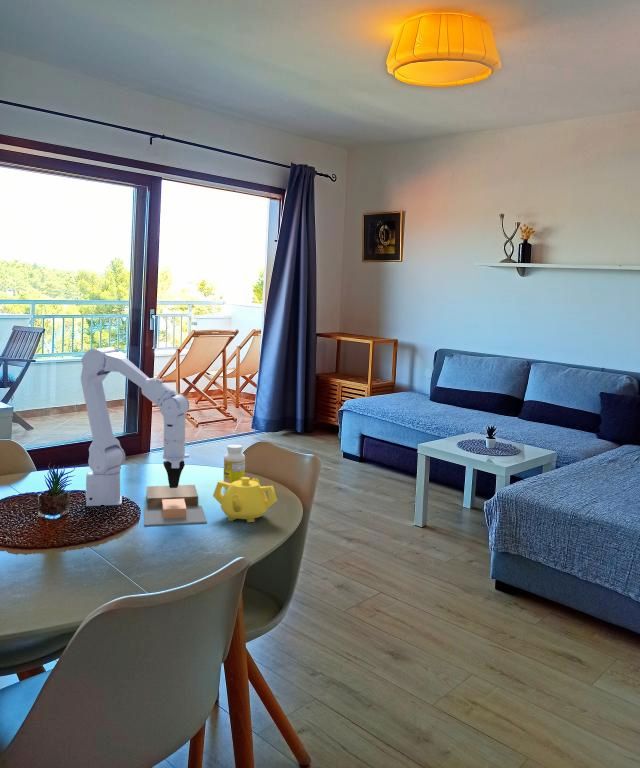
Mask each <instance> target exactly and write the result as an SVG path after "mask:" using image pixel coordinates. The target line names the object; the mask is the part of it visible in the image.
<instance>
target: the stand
mask: <svg viewBox="0 0 640 768" xmlns="http://www.w3.org/2000/svg"><path fill="white" fill-rule="evenodd" d="M162 499H184V501H185V505H186V506H199V494H198V491H197V488H196V485H195V484H181V485H179V484H178V487H177V488H170V487H169V485H150V486H149V485H148V486H146V508H158V507H162Z"/></svg>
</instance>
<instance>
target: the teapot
mask: <svg viewBox="0 0 640 768" xmlns="http://www.w3.org/2000/svg"><path fill="white" fill-rule="evenodd" d="M222 488H225V489H226V490H225V492H224V494H222V490H223V489H222ZM266 492H267V493H266ZM212 497H213V498H214V499H215V500H216V501H217V502H218V503H219V504H220V509H221V510H222V512H223V513H224V515H226V516H227V517H228V518H227V521H228V522H229V521H230V522H234V521H233V520H235V521H236V520H238V519H239V520H246V523H248V522H254V521H255V522H256V519H257V518H260V517H262V516H263V515H264V514H265V513H266V512H267V510H268V509H269V508H270V507H272V505H273V504H275V503H277V502H278V499H277V494H276V490H275V488H274V485H267V486H261V484H260V479H259V478H256V477H252V479H251V477H248V476H245V477H242V478H241V480H238V481H234V482H232V483H227V482H224V480H218V482H217V483H216V487H215V489H214V491H213V494H212ZM255 522H254V523H255Z"/></svg>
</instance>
